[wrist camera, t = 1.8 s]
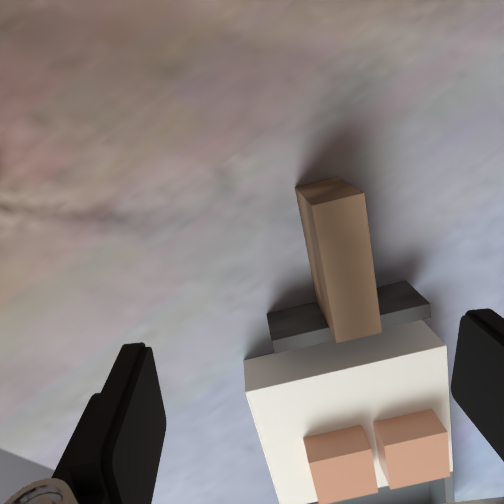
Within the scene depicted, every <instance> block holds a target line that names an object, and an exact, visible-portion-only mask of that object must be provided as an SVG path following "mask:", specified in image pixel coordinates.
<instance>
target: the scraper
mask: <svg viewBox="0 0 504 504" xmlns="http://www.w3.org/2000/svg"><path fill="white" fill-rule="evenodd" d="M295 191H296V196H297V201H298V206H299V211H300V216H301V221H302V226H303V232H304V237H305V242H306V247H307V252H308V257H309V262H310V267H311V272H312V278H313V283H314V288H315V293H316V298H317V302H315V303H311V304H307V305H303V306H298V307H294V308H290V309H286V310H282V311H277V312H273V313H269V314H267V319H268V324H269V330H270V335H271V340H272V344H273V348H274V352H275V354H277V353H281V352H286V351H290V350H294V349H298V348H303V347H307V346H311V345H315V344H320V343H324V342H328V341H332V340H335V341H336V343H339V342H344V341H348V340H352V339H356V338H361V337H365V336H369V335H373V334H378V333H382V329H383V328H388V327H392V326H396V325H400V324H405V323H409V322H413V321H417V320H422V319H426V318H430V317H431V312H430V303H429V302H428V301H427V300H426V299H425V298H423V297H422V296H421V295H420V294H419V293H418V292H417V291H416V290H415V289H414V288H413V287H412V286H411V285H410V284H409V283H408V282H407V281H403V282H399V283H395V284H391V285H386V286H382V287H378V288H376V281H375V273H374V265H373V258H372V250H371V242H370V234H369V226H368V218H367V210H366V202H365V194H364V192H362V191H360V190H358V189H357V188H355V187H353V186H352V185H350V184H348V183H346V182H345V181H343V180H341V179H340V178H338V177H334V178H330V179H326V180H322V181H318V182H314V183H310V184H306V185H302V186H298V187H295Z"/></svg>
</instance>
